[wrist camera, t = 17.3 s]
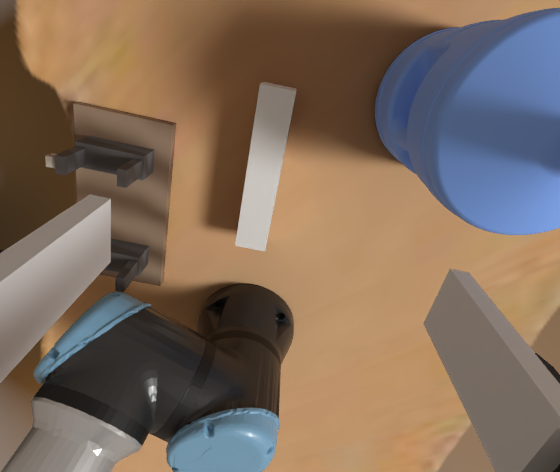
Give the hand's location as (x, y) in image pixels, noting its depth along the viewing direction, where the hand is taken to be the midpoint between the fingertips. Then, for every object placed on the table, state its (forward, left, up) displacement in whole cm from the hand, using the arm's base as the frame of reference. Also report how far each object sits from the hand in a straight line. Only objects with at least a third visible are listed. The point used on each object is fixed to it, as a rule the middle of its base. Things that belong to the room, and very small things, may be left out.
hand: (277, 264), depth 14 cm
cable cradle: (-15, +20, -35) cm, 43 cm away
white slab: (-6, +2, -35) cm, 36 cm away
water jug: (+6, -17, -35) cm, 39 cm away
